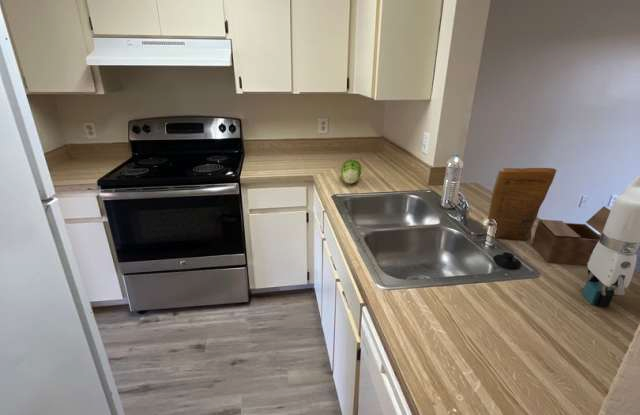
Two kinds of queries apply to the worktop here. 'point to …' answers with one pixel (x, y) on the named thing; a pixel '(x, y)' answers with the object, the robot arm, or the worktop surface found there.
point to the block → (592, 291)
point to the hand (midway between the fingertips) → (595, 298)
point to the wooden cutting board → (518, 200)
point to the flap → (599, 219)
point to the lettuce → (351, 171)
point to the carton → (564, 242)
